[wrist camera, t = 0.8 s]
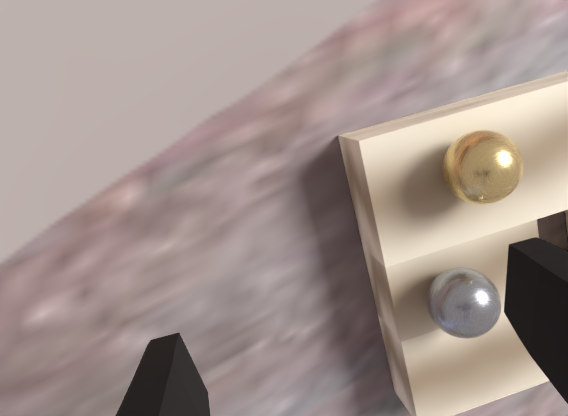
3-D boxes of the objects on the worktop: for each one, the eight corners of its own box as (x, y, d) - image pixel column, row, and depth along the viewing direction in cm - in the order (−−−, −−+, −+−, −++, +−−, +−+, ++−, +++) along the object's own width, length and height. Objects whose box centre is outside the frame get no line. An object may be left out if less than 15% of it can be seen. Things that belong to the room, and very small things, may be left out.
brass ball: (497, 185, 24) (545, 199, 21) (435, 204, 24) (474, 222, 20) (488, 119, 23) (536, 122, 20) (423, 138, 23) (462, 145, 20)
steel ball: (479, 307, 26) (521, 338, 22) (420, 326, 25) (454, 361, 22) (470, 249, 25) (512, 273, 21) (409, 269, 24) (442, 296, 21)
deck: (611, 315, 32) (660, 340, 29) (394, 391, 30) (419, 427, 27) (594, 62, 27) (648, 57, 24) (338, 135, 26) (358, 140, 22)
